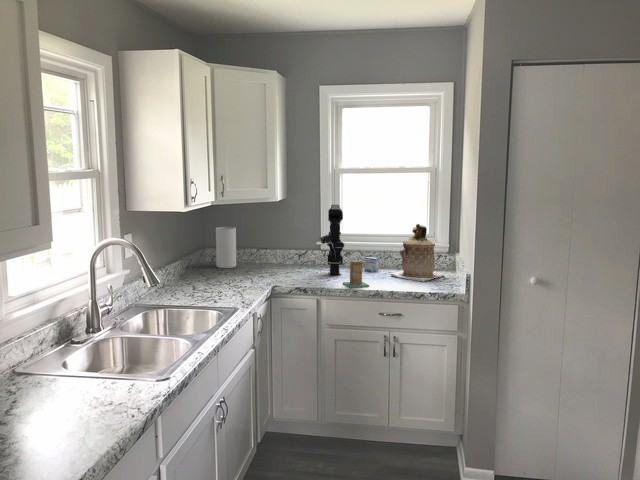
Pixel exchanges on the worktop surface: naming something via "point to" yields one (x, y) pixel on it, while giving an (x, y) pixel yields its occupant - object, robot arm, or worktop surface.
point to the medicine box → (371, 264)
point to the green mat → (355, 285)
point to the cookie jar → (418, 257)
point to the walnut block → (356, 272)
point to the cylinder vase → (226, 247)
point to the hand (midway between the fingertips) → (334, 257)
